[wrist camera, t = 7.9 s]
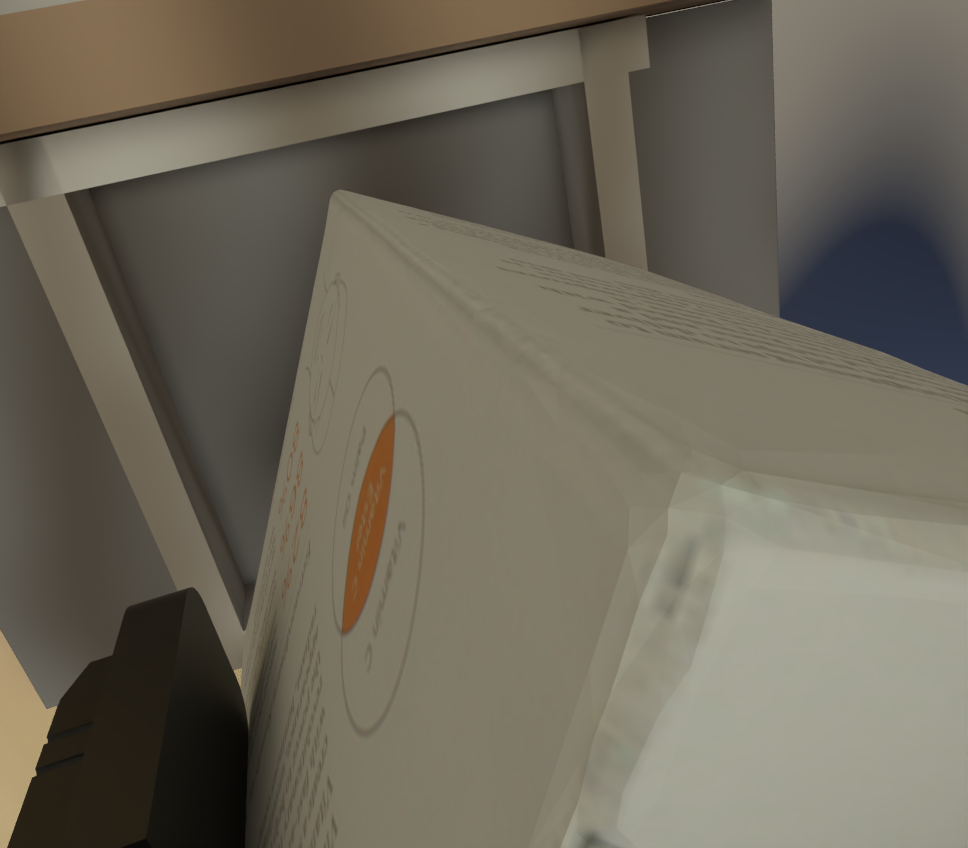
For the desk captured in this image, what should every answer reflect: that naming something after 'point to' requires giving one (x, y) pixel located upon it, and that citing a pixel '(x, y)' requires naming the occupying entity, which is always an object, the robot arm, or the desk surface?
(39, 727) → the desk surface
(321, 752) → the small box
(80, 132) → the door edge frame
